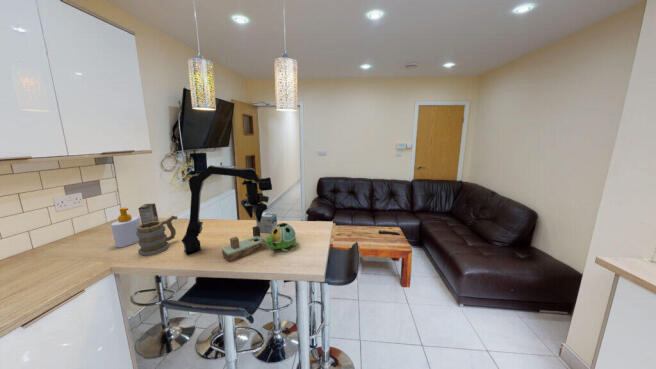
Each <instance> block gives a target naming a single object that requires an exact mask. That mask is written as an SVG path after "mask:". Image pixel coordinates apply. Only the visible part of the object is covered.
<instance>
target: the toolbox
mask: <svg viewBox="0 0 656 369" xmlns="http://www.w3.org/2000/svg"><path fill="white" fill-rule="evenodd" d="M263 248H265V247H264V243H261V244H258V245H255V246H252V247H250V248H247V249H244V250H242V251H239V252H236V253H234V254H231V255H227V254H226V253H225V252H224V251H222V250H221V254H222V257H223V258H224V259H225V260H226V261H228V262H229V263H231V262H232V261H235V260H237V259H241V258H243V257H245V256H248V255H250V254H251V255H252V254H254V253H256V251H259V250H261V249H263Z"/></svg>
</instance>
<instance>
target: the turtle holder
mask: <svg viewBox="0 0 656 369" xmlns="http://www.w3.org/2000/svg"><path fill="white" fill-rule="evenodd" d="M296 236H297V235H296V231H295V229H294V227H293V226H291V225H290V223H288V222H280V223H277V225H276V226H275V227H274V228H273V230H272V232H271V233H270V234H269V235H266V237H265V239H264V240H265V242H264V243H265V244H267V248H268V249H270V250H271V251H273V250H277V249H278V250H279V249H280V251H281V252H284V253H286V252H288V251H289V250H288V249H287V248H289V247H295V246H297V244H296V241H297V238H296Z"/></svg>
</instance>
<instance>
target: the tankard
mask: <svg viewBox="0 0 656 369" xmlns="http://www.w3.org/2000/svg"><path fill="white" fill-rule="evenodd" d="M177 219H178V215H177V216H176V215H175V216H174V215H171V216H170V217H168V218H167V219H165V220H162V221H160V220H159V221H152V222H147V223H144V224H142V223H140V224H141V225H139V226H138V227H137V232H136V235H137V237H139V241H138V242H137V243H138V246H140V248H139V249H138V254H140V256H141V255H142V256H152V255H153V254H154V255H156V254H160V253H162V252H164V251H166V250H167V249H168V248H169V247H170V246H171V243H170V242H169V241H171V240H173V239H175V236H176V229H175V227H174V226H173V222H172V221H174V220H177ZM164 225H166V226H167V228H168V230H169V231H170V235H169V236H167V234H165V231H166V226H164Z"/></svg>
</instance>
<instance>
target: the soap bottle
mask: <svg viewBox="0 0 656 369" xmlns="http://www.w3.org/2000/svg"><path fill="white" fill-rule="evenodd" d="M127 211H129V208H127V207H120V208H119V212H120V214H119V215H118V218H117V221H114V222H113V223H111V225H110V226H111V230H112V231H111V232H112V235H113V240H114V243H115V247H116V248H124V247H128V246H132V245H133V244H136V243H138V241H139V237H137V235H136V232H137V227H138V226H139V225H141V224H142V223H141V219H140V216H139V217H138V216H132V215H131V214H129V213H128V212H127Z"/></svg>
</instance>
